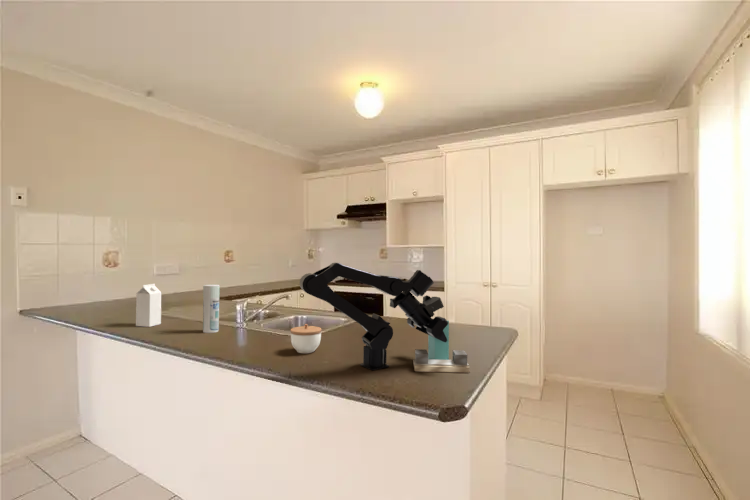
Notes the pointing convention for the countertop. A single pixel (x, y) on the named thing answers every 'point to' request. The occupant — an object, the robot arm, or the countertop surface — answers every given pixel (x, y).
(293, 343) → the lidded jar
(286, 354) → the countertop surface
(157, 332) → the countertop surface
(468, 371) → the board
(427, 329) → the robot arm
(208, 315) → the spray can
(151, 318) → the milk carton
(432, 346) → the block
